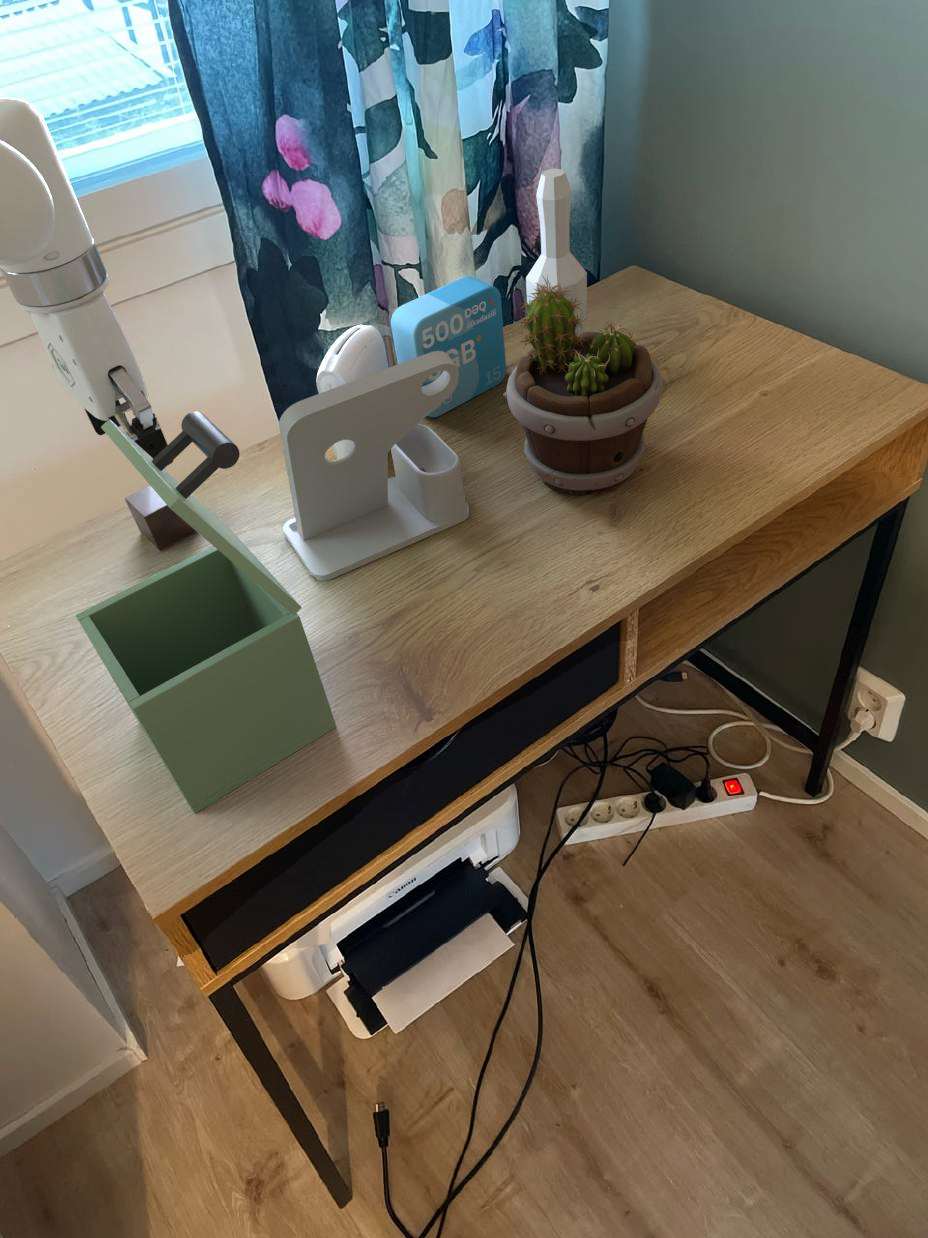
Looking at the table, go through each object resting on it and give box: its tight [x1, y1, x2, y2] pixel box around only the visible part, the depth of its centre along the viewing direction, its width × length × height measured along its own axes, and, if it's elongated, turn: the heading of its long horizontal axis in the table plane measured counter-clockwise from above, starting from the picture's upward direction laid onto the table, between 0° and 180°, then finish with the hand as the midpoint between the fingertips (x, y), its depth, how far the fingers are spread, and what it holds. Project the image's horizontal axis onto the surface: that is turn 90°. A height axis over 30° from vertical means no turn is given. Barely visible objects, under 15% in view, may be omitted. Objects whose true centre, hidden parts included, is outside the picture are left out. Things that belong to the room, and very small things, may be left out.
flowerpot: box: [503, 275, 666, 496], centre depth 85 cm, size 14×15×20 cm
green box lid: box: [101, 411, 302, 615], centre depth 61 cm, size 13×12×5 cm
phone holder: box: [278, 351, 470, 582], centre depth 83 cm, size 17×10×18 cm, turn 119°
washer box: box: [75, 545, 337, 815], centre depth 69 cm, size 13×12×13 cm
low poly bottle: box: [525, 168, 588, 337], centre depth 99 cm, size 6×6×22 cm
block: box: [124, 484, 197, 552], centre depth 91 cm, size 4×4×4 cm
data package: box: [390, 275, 507, 418], centre depth 100 cm, size 12×4×12 cm, turn 129°
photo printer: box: [315, 323, 390, 460], centre depth 96 cm, size 10×4×12 cm, turn 160°
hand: (134, 447), depth 85 cm, fingers open, 9 cm apart
